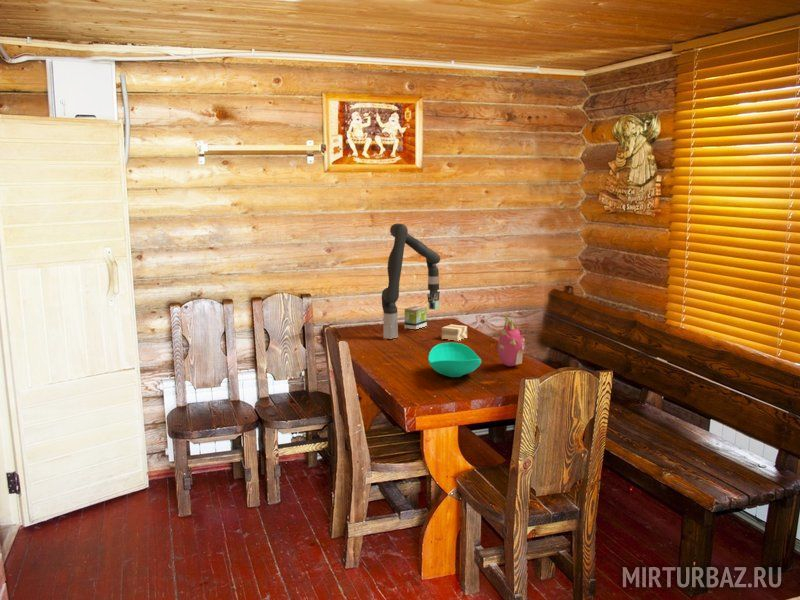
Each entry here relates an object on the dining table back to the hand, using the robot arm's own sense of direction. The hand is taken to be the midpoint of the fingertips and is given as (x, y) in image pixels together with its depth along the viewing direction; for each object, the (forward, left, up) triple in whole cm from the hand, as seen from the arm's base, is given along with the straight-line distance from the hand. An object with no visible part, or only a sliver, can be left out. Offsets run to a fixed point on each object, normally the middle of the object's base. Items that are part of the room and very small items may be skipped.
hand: (433, 307), depth 468 cm
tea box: (+8, +18, -18) cm, 27 cm away
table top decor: (-86, -57, -18) cm, 104 cm away
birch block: (-9, -20, -18) cm, 28 cm away
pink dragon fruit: (-56, -77, -18) cm, 96 cm away
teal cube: (0, 0, -1) cm, 1 cm away
